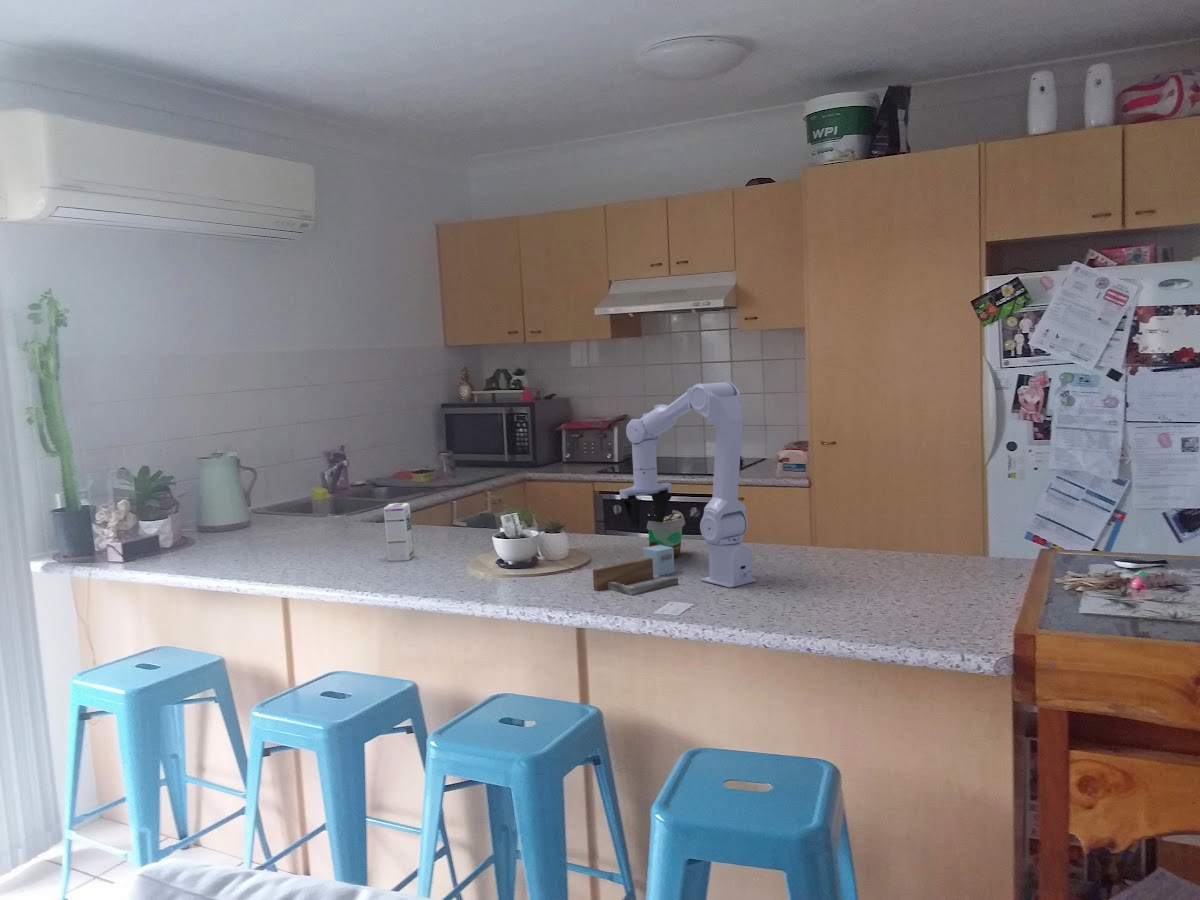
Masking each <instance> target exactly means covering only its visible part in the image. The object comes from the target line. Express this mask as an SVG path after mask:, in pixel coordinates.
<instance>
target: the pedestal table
mask: <svg viewBox="0 0 1200 900" xmlns="http://www.w3.org/2000/svg"><path fill="white" fill-rule="evenodd" d="M592 576H593V577H592V579H593V591H596V590H597V591H602V590H606V588H607V589H609V590H613V591H616V592H619V593H622V594H625V595H626V594H627V595H629V596H634V594H635V595H639V594H643V593H647V592H651V591H650V590H652V591H654V589H656V590H659V589H658V588H660V589H663V587H664V588H667V587H668V588H669V587H671V586H676V585H679V578H678V577H675V576H673V577H669V578H664V579H659V580H656V581H652V582H647V583H643V584H639V585H635V586H631V585H630V586H629V585H628V584H632V582H633V583H637V582H640V580H641V581H644V580H649V579H648V578H650V579H654V576H653V559H652V558H645V559H644V558H641V559H636V560H632V561H628V562H623V563H618V564H614V565H609V566H603V567H598V568H594V569H592ZM623 584H624V585H623ZM675 584H676V585H675ZM646 591H647V592H646ZM642 592H643V593H642ZM638 593H639V594H638Z"/></svg>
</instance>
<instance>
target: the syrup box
mask: <svg viewBox="0 0 1200 900" xmlns="http://www.w3.org/2000/svg"><path fill="white" fill-rule="evenodd" d="M383 516H384V517H383V518H384V528H385V541H386V551H387V553H386V554H387V561H388V562H401V561H410V559H411V558H413V557H414V555H415V552H414V551H415V550H414V541H413V539H414V538H413V528H412V515H411V506H410V503H409V502H395V503H388V504H387V506H384V507H383Z"/></svg>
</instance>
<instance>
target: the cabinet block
mask: <svg viewBox="0 0 1200 900" xmlns="http://www.w3.org/2000/svg"><path fill="white" fill-rule="evenodd" d="M642 549H643V550H642V551H643V552H642V553H643V559H645V558H652V559H653V575H657V576H659V575H663V576H665V574H667V575H670V574H669V573H672V574H674V573H675V558H674V549H673V548H672V547H668V546H663V545H656V546H651V547H649V546H648V547H643V548H642ZM673 572H674V573H673ZM657 576H656V577H657ZM659 577H660V576H659Z"/></svg>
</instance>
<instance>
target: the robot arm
mask: <svg viewBox="0 0 1200 900" xmlns="http://www.w3.org/2000/svg"><path fill="white" fill-rule="evenodd" d="M741 397H742V395H741V392H740V390H739V389H738V388H737V387H736V385H735V384H734V383H732V382H731V381H727V380H726V381H722V382H713V383H696V384H694V385H693V386H691V387H689V388H687V391H686V392H685V393H684V394H682V395H680V396H679V397H678V398H677V399H675V400H674V401H672V402H671V403H670V404H669V405H668V404H661V403H660V404H656V405H654V409H653V410H651V411H649V412H646V413H643V414H642V417H641V418H631V419H630V421H628V423H627V424H626V426H625V427H626V429H625V431H626V437H627V439H628V441H629V442H630V443H631V447H632V448H631V452H632V453H631V454H632V473H633V485H632V486H630V487H627V488H623V489H619V498H620V502H621V504H622V505H623V507H624V508H625V512H626V513H627V516H628V518H629V522H630V525H631V527H633V528H640V507H641V505H642V504H641V503H642V499H641V498H638V497H639V496H647V495H651V496H650V497H651V499H652V502H653V508H654V518H655V519H654V520H655V521H656V522H663V520H664V516H666V515H665V514H666V510H667V507H668V505H669V502H670V501H671V498H672V483H671V482H662V483H658V467H657V465H658V464H657V448H658V446H659V444H658V443H659V438H660V437H661V434H663V433H665V432H666V431H668V430H669V429H671V428H673V427H674V426H675V425H676V424H677V419H678V418H679V417H682V416H683V415H685V414H687V413H689V412H690V411H693V410H694V412H696V413H697V414H699V415H700V416H702V418H704V419H705V420H707V421H708V422H709V423H711V424H712V425H713V426H714V427H715V428H716V429H715V432H716V433H715V443H714V444H715V445H714V446H715V449H714V462H713V463H714V464H713V465H714V466H713V480H712V483H713V484H712V498H711V499H710V501H709V502H708V503H707V504H706V505H705V507H704V508H703V515H702V518H701V520H700V523H699V530H700V533H701V535H702V538H703V539H704V540H705V543H706V544H708V567H709V568H708V572H709V573H708V574H709V576H706V577H701V579H700V580H701V581H702V582H705V583H709V584H714V585H718V586H723V587H727V588H735V587H739V586H742V585H746V584H750V583H754V582H756V581H757V580H756V578H754V573H753V571H754V569H753V568H754V566H753V565H754V563H753V553H752V550H751V549H750V548H749V546H747V545H745V544H743V541H744V535H745V534H746V533H747V531H748V529H749V528H748V527H749V523H748V522H749V520H748V517H747V514H746V512H747V511H746V510H747V506H746V505H745V504H744V503H742V502H741V501H740V500H739V499H738V496H739V481H740V469H741V467H740V466H741V464H740V463H741V450H742V448H741V447H742V435H743V415H742V412H741Z"/></svg>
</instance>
